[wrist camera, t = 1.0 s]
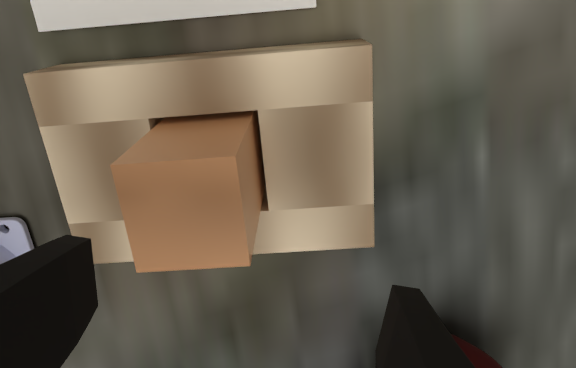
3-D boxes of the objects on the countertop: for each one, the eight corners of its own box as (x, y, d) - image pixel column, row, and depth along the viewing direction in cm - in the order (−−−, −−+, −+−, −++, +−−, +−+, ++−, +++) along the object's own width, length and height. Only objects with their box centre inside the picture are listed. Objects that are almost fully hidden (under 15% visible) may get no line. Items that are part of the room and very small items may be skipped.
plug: (189, 185, 23) (136, 272, 16) (175, 108, 21) (109, 165, 14) (266, 180, 23) (250, 266, 15) (257, 102, 21) (235, 156, 14)
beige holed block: (105, 234, 24) (80, 264, 21) (60, 64, 21) (23, 73, 18) (365, 217, 23) (374, 246, 21) (361, 38, 20) (372, 44, 17)
